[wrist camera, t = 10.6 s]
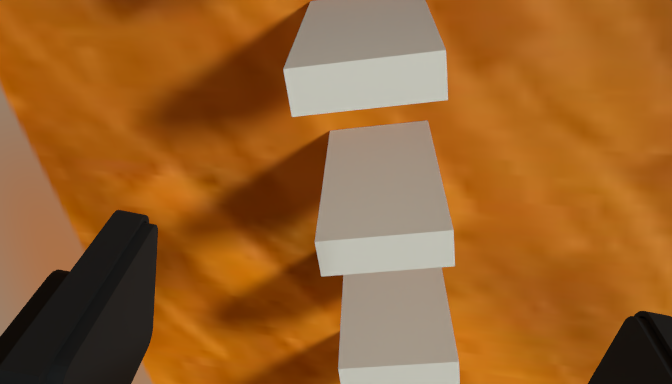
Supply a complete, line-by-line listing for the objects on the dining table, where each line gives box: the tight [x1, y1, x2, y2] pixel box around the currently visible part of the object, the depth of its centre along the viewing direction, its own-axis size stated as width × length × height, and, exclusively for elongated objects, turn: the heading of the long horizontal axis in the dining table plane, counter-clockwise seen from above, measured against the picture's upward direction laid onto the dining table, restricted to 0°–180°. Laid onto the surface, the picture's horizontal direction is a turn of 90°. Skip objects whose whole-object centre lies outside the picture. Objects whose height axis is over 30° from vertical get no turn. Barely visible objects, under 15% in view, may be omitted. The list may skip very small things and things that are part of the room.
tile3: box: [338, 267, 460, 384], centre depth 29 cm, size 2×5×10 cm, turn 98°
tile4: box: [315, 120, 455, 277], centre depth 26 cm, size 2×5×10 cm, turn 98°
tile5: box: [283, 0, 448, 117], centre depth 22 cm, size 2×5×10 cm, turn 97°
